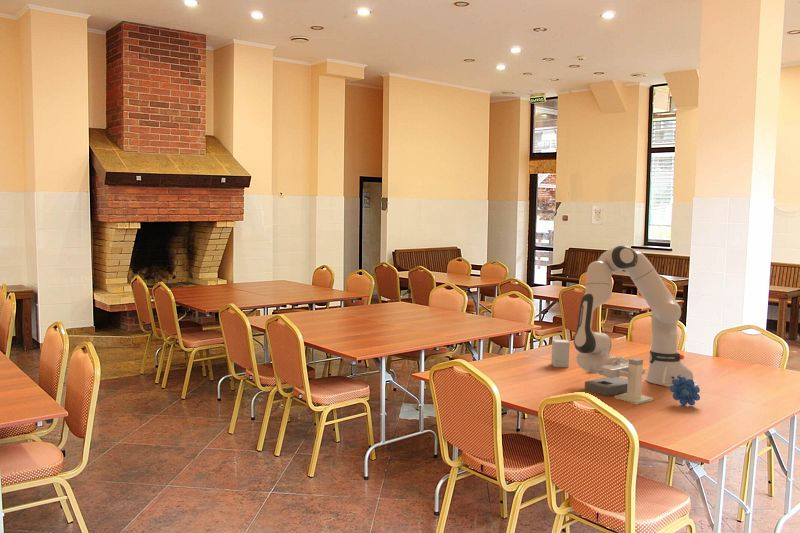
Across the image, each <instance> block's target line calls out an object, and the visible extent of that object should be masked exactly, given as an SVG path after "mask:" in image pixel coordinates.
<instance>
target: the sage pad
mask: <svg viewBox="0 0 800 533" xmlns="http://www.w3.org/2000/svg"><path fill="white" fill-rule="evenodd" d="M616 398H617V400H619V399H621V400H620V401H623V400H624V401H623V402H626V401H627V402H626V403H629V402H630V404H634V405H642V404H645V403H650V402H653V401H654V397H650V396H647V395H643V394H641V398H636V399H634V398H630V397H627V392H623V393H619V394H614V399H616Z"/></svg>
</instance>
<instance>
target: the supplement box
mask: <svg viewBox="0 0 800 533" xmlns="http://www.w3.org/2000/svg"><path fill="white" fill-rule="evenodd" d="M570 344H571V343H570V342H569V340H567V339H552V340H551V362H550V364H551V365H552V366H553V367H554V368H569V367H570V366H569V365H570V346H571V345H570Z"/></svg>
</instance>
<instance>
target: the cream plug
mask: <svg viewBox="0 0 800 533" xmlns="http://www.w3.org/2000/svg"><path fill="white" fill-rule="evenodd" d="M628 360H629V364H628V372H630V373H631V376H630V377H627V379H628V383H627V392H626V393H627V397H630V398H634V399H636V398H641V395H642V384H643V383H642V382H643V381H642V380H643V374H642V369H643V364H644V359H641V358H637V357H634V358H633V357H632V358H629V359H628Z"/></svg>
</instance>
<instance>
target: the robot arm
mask: <svg viewBox="0 0 800 533" xmlns="http://www.w3.org/2000/svg"><path fill="white" fill-rule="evenodd" d="M622 271H625V272H626V273H627V275H629V277H630V279H631V280H632V282H633V284H634V285H635V287H636V288H637V290H638V291H639V293H640V295H641V296H642V297H643V299H644V300H645V302H646V304H647V305H648V307H649V308H650V309H651V313H650V314H651V322H650V323H651V341H650V344H651V345H650V350H649V355H648V360H649V367H648V371H647V375H646V378H645V381H646V382H648V383H651V384H654V385H660V386H664V387H667V388H668V387H669V388H670V386H672V385H673V384H672V380H673V379H678V380H679V377H680V376H683V377H685V378H686V380H688V379H692V380H693V381H694V383H695V384H694V386H698V387H699V382H698V381H697V380H696V379H694V373H693V371H692V369H691V368H689V367H688V366H687V365H686V364H685V363H684V362H683V361H682V360H684V359H685V355H683V354H681V353H679V352H678V323H677V322H678V321H679V320H680V318H681V316H682V308H681V306H680V304H679V303H678V302H677V300H676V299H675V297H674V296H673V294H672V293H671V291H670V289H669V288H668V287H667V285H666V283H664V281H663V279H662V278H661V276H660V274H659V273H658V272H657V270H656V268H655V267H654V265H653V264H652V263H651V261H650V260H649V259H648V258H647V257H646V255H645V254H644V253H643V252H641V251H635V250H633V248H631V247H630V246H628V245H617V246H615V247H611V248H609V249H607V250H605V251H604V252H602V253H600V254H599V255H598V257H597V258H596V260H595V261H592V262H590V264H589V265H588V267H587V270H586V277H585V290H584V291H585V292H584V295H583V296H582V297H581V300H580V305H579V311H578V319H577V325H576V329H575V334H574V337H573V345H574V347H575V349H576V351H577V352H578V353H577V354H576V363H577V365H578V367H580V368H581V369H582V370H584V371H587V372H589V373H593V374H599V375H601V376H604V377H609V378H615V377H623V378H624V377H625V378H628V377H630V376H631V373H630V372H628V364H629V359H626V358H625V357H622V356H621V357H620V356H610V352H611V350H612V349H611V348H612V339H611V337H610V336H609V334H607V333H605V332H601V331H600V332H597V331H593V329H592V326H593V320H594V319H593V318H594V312H595V310H596V309H597V308H598V307H601V306H603V305H604V304H606V303H607V302H608V301H609V300H610V299H611V297H612V276H613V274H617V273H620V272H622ZM645 373H646V370H645V369H643V368H642V375H645Z"/></svg>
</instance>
